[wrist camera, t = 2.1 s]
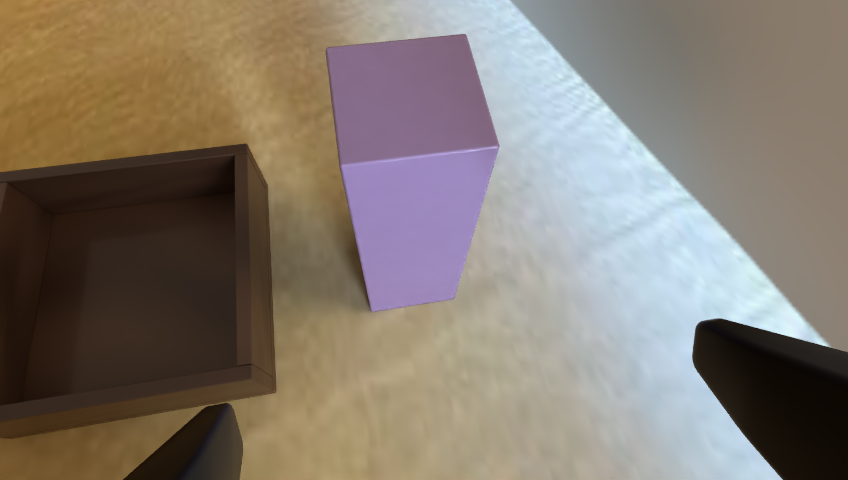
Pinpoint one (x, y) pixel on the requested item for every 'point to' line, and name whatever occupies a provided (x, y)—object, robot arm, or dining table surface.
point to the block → (411, 161)
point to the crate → (133, 288)
